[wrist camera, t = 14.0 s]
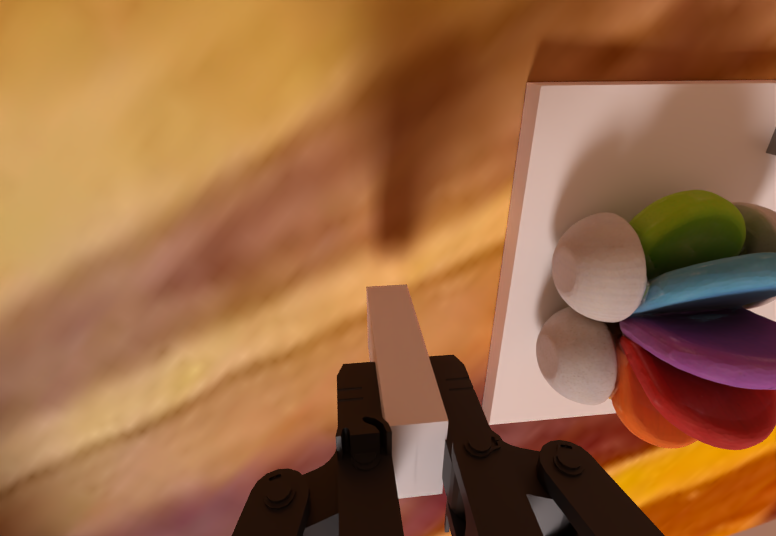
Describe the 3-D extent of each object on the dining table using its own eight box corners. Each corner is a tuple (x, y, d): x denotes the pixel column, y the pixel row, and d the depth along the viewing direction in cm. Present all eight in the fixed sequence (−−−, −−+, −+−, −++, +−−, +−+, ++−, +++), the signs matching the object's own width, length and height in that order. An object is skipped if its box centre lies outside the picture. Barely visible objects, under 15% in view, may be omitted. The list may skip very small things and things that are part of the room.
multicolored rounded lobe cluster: (516, 376, 21) (598, 525, 14) (551, 177, 16) (693, 267, 10) (680, 361, 22) (826, 497, 15) (757, 169, 17) (1009, 246, 11)
